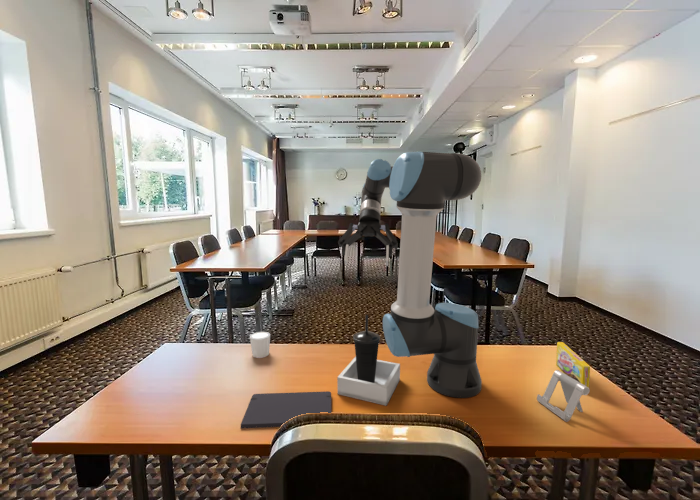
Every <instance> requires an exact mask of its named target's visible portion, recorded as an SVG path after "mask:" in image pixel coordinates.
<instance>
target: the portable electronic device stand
mask: <svg viewBox="0 0 700 500" xmlns="http://www.w3.org/2000/svg"><path fill="white" fill-rule="evenodd" d="M558 382H559V383H560V385H561V389H562V393H563V396H564V399H565V401H566V402H565V403H567V404H566V406H565V409H564V411H563V410H562V409H560V407H557V406H554V405H553V404H552V403H550V400H551V398H552V396H553V393H554V391H555V389H556V387H557V385H558ZM588 393H589V394H590V387H589V388H588V387H587V386H585V385H583V384H581V383H580V382H578V381H576V380H575V379H573V378H571V377H569V376H568V375H566V374H564V373H563V372H562V371H561V370H560V369H559V370H558V369H556V370H554V372H553V373H552V376H551V378H550V380H549V382H548V385H547V387H546V389H545V391H544V393H543V395H540V394H536V395H537V396H536V401H537V402H539V403H540V404H541V405H543V406H544V407H545V408H547V410H549V411H551V412H552V413H554V415H556V416H558V417H559V418H560V419H561V420H562V421H564V422H566V423H567V422H570V421H571V419H572V416H573V414H574V412H575V410H576V409H577V410H578V412H581V413H583V412H584V411H583V407H582V404H581V400H580V399H581V397H582V396H587V395H588Z"/></svg>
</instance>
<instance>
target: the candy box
mask: <svg viewBox="0 0 700 500" xmlns="http://www.w3.org/2000/svg"><path fill="white" fill-rule="evenodd" d="M555 360H556V361H555V362H556V363H555V366H556V367H557V368H558V369H559V371H561V372H562V373H564V374H566V375H568V376H569V377H571V378H573V379H575V380H576V381H578V382H580V383H581V384H583V385H585V386H587V387H588V388H589V389H590V377H591V376H590V375H591V366H590V365H589V364H588V363H587V362H586V361H585V360H584V359H583V358H582V357H580V355H578V354H577V353H576V352H575V351H573V349H571V348H570V347H569V346H568V345H567V344H565V342H562V341H558V342H557V344H556V359H555ZM588 394H590V392H589V393H588ZM588 394H587V395H588Z"/></svg>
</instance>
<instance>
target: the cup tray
mask: <svg viewBox="0 0 700 500" xmlns="http://www.w3.org/2000/svg"><path fill="white" fill-rule="evenodd" d="M336 378H337V382H336V383H337V395H339V396H344V397H347V398H352V399H356V400H360V401H364V402H369V403H372V404H377V405H381V406H386V407H387V406H388V404H389V402H390V400H391V398H392V396H393V393H394V392H395V390H396V388H397V386H398V385H399V382H400V380H401V363H397V362H393V361H386V360H381V359H377V364H376V373H375V382H374V383H372V382H367V381H362V380H358V376H357V365H356V356H355V357H353V358H352V360H351V361H350V362H349V363H348V364H347V366H345V368H344V369H343V370H342V371H341V372H340V374H338V375H337V377H336Z"/></svg>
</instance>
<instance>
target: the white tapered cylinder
mask: <svg viewBox="0 0 700 500" xmlns="http://www.w3.org/2000/svg"><path fill="white" fill-rule="evenodd" d="M249 341H250V347H251V354H252V357H253V358H257V359H262V358H266V357H267V356H269V354H270V343H271V333H270V332H268V331H257V332H254V333H251V334H249Z"/></svg>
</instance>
